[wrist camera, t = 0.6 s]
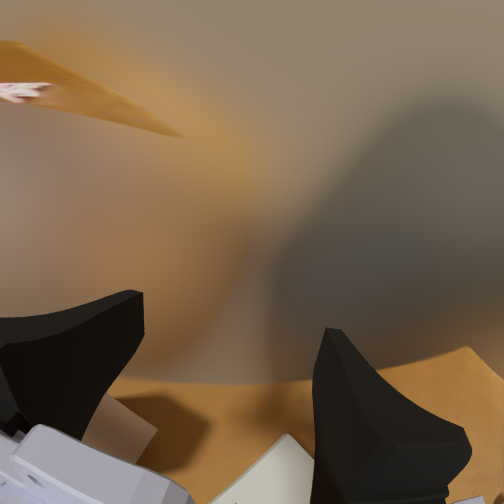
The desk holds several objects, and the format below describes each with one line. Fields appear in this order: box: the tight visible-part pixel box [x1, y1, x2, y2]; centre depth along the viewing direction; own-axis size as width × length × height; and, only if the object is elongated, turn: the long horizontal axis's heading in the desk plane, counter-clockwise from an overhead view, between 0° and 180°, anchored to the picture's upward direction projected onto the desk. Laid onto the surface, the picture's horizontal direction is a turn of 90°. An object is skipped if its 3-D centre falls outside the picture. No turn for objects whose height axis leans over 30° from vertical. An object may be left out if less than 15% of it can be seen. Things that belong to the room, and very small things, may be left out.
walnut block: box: [81, 392, 158, 464], centre depth 18 cm, size 5×5×6 cm
